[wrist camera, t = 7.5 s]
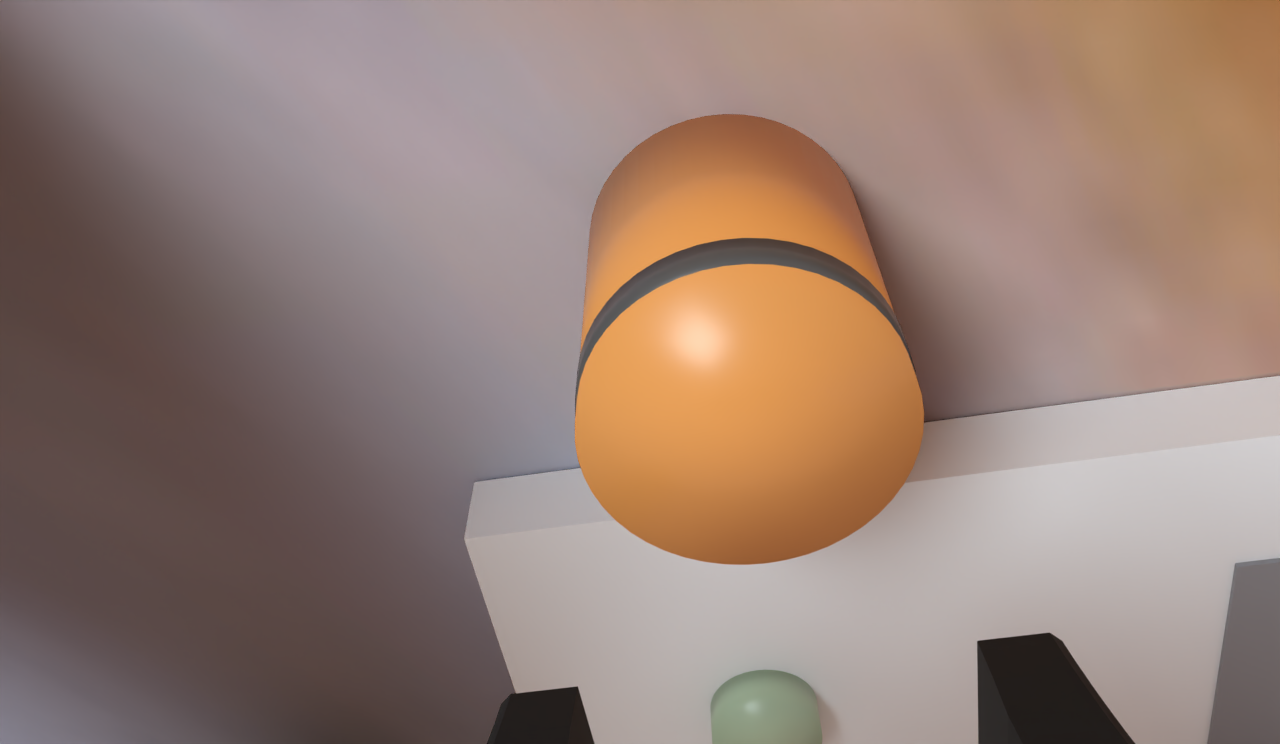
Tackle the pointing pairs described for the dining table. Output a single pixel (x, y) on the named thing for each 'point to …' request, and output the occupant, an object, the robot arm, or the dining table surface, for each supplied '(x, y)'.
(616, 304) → the cap
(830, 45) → the dining table surface
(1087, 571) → the board
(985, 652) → the robot arm
